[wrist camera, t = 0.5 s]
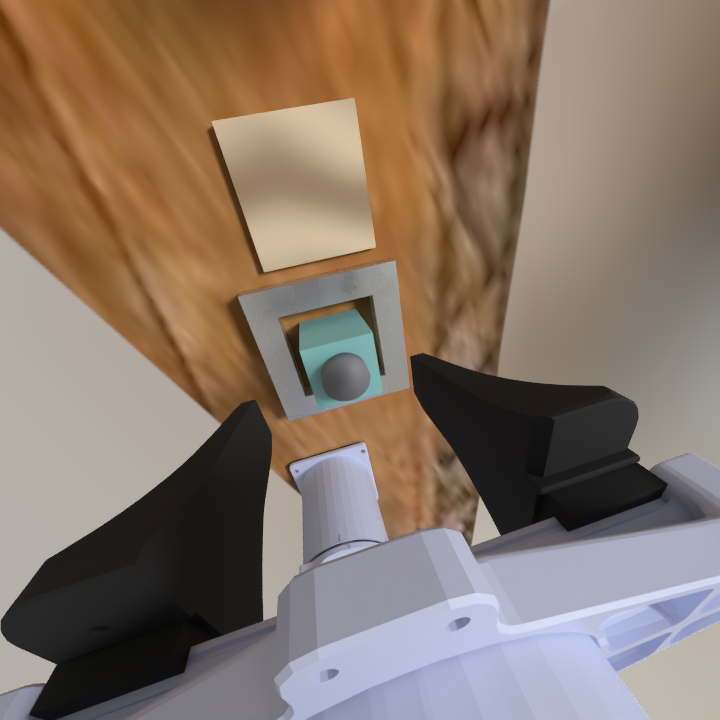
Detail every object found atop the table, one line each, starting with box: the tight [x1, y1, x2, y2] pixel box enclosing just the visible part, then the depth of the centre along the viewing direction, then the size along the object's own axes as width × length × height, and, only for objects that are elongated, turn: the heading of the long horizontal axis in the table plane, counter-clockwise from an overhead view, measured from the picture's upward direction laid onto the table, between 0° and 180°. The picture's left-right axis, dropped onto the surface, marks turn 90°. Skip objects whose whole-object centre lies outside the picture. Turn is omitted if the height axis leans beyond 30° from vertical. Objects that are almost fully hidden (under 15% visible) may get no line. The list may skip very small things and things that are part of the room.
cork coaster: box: [212, 98, 376, 272], centre depth 17 cm, size 8×8×1 cm
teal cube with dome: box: [299, 309, 383, 410], centre depth 19 cm, size 5×5×6 cm
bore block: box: [238, 258, 410, 421], centre depth 21 cm, size 11×11×2 cm
